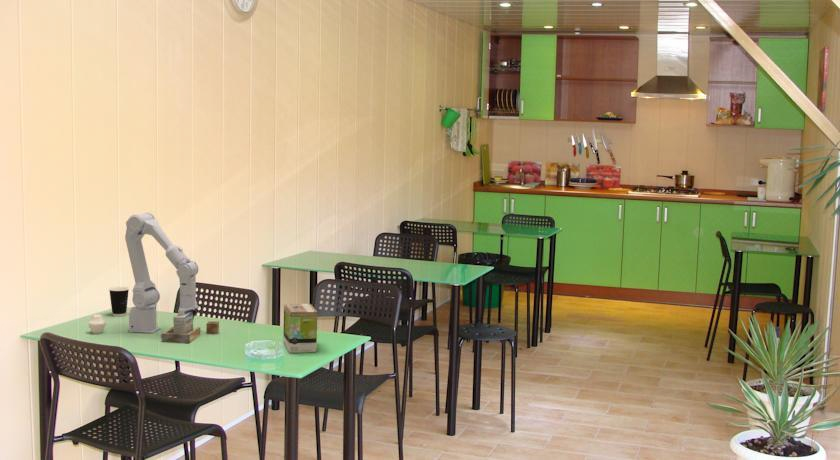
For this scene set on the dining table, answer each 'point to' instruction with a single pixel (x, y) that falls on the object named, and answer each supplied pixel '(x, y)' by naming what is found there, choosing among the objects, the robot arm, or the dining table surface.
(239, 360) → the dining table surface
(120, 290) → the dixie cup
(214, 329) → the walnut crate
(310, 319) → the tea box
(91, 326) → the cream lidded jar
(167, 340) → the dock bay
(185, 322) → the medicine box
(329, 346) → the dining table surface
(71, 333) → the dining table surface
